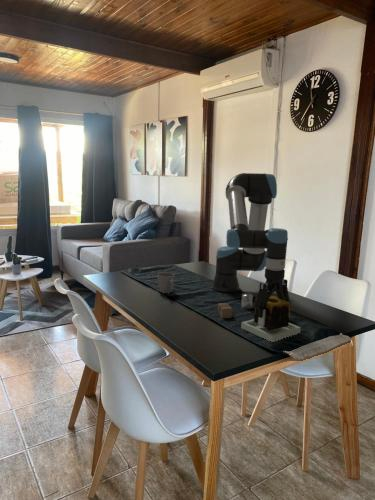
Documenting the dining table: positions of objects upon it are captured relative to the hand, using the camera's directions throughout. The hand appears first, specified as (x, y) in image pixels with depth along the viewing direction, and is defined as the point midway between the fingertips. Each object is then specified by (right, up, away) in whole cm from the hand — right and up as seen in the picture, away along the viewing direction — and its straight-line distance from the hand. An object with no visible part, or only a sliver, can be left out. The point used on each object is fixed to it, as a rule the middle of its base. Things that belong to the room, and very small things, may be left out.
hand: (270, 321), depth 148 cm
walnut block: (-17, 0, +16) cm, 24 cm away
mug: (-44, +6, +45) cm, 64 cm away
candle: (0, -1, 0) cm, 1 cm away
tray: (0, -4, +1) cm, 4 cm away
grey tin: (-5, +2, +27) cm, 28 cm away
